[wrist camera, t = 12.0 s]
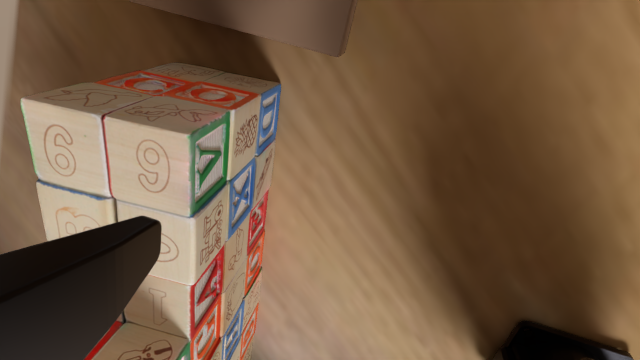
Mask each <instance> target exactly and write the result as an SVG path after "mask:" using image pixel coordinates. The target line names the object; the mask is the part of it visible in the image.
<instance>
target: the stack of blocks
mask: <svg viewBox="0 0 640 360" xmlns="http://www.w3.org/2000/svg"><path fill="white" fill-rule="evenodd" d="M280 92H281V84H280V83H277V82H272V81H267V80H262V79H257V78H252V77H247V76H242V75H237V74H233V73H226V72H224V71H220V70H215V69H211V68H206V67H201V66H195V65H190V64H183V63H169V64H165V65H161V66H157V67H154V68H151V69H147V70H144V71H141V70H139V71H134V72H130V73H127V74H123V75H119V76H115V77H110V78H107V79H104V80H101V81H98V82H95V83H90V82H88V83H80V84H76V85H72V86H68V87H64V88H59V89H55V90H51V91H46V92H42V93H38V94H34V95H30V96H26V97H23V98H21V109H22V113H23V117H24V121H25V126H26V131H27V135H28V140H29V145H30V150H31V155H32V160H33V164H34V170H35V173H36V174H37V176H38V177H39V179H38V180H37V181H36V188H37V192H38V197H39V202H40V207H41V212H42V217H43V222H44V227H45V232H46V237H47V241H51V240H55V239H58V238H62V237H65V236H69V235H73V234H76V233H80V232H84V231H87V230H91V229H94V228H98V227H102V226H105V225H109V224H112V223H116V222H120V221H123V220H127V219H130V218H134V217H138V216H147V217H150V218H153V219H156V220H159V221H160V223H161V226H162V231H161V251H160V255H159V258H158V260H157V262H156V263H155V265H154V266H153V268H152V269H151V271H150V272H149V274H148V275H147V277H146V278H145V280H144V281H143V282H142V284H141V285H140V287H139V288H138V290H137V291H136V293H135V294H134V296H133V297H132V299H131V300H130V302H129V303H128V305H127V306H126V308H125V309H124V310H123V312H122V313H121V315H120V316H119V317H118V319H117V320H116V321H115V323H114V324H113V325H112V326H111V328H110V329H109V330H108V331H107V332H106V334H105V335H104V336H103V337H102V338H101V340H100V341H99V342H98V343H97V344H96V345H95V347H94V348H93V349H92V350H91V351H90V353H89V354H88V355H87V356H86V357H85V359H84V360H251V352H252V344H253V335H254V333H255V328H256V319H257V311H258V301H259V295H260V287H261V278H262V268H261V262H262V251H263V244H264V235H265V230H264V225H265V218H266V209H267V200H268V189H269V187H270V186H271V179H272V170H273V162H274V153H275V135H276V130H277V121H278V111H279V102H280Z"/></svg>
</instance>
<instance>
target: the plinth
mask: <svg viewBox="0 0 640 360" xmlns="http://www.w3.org/2000/svg"><path fill="white" fill-rule="evenodd" d="M130 2H134V3H137V4H141V5H145V6H148V7H152V8H156V9H160V10H163V11H167V12H171V13H175V14H178V15H182V16H186V17H189V18H193V19H197V20H201V21H204V22H208V23H212V24H216V25H219V26H223V27H227V28H230V29H234V30H238V31H242V32H245V33H249V34H253V35H257V36H260V37H264V38H268V39H271V40H275V41H279V42H283V43H286V44H290V45H294V46H297V47H301V48H305V49H309V50H312V51H316V52H320V53H324V54H327V55H331V56H335V57H339V56H341V55H342V54H343V53H345V49H346V45H347V41H348V37H349V33H350V29H351V25H352V21H353V16H354V12H355V8H356V4H357V0H130Z"/></svg>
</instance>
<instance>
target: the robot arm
mask: <svg viewBox="0 0 640 360" xmlns="http://www.w3.org/2000/svg"><path fill="white" fill-rule="evenodd" d="M161 231H162V226H161V223H160V221H159V220H156V219H153V218H150V217H147V216H138V217H134V218H130V219H127V220H123V221H120V222H116V223H112V224H109V225H105V226H102V227H98V228H94V229H91V230H87V231H84V232H80V233H76V234H73V235H69V236H65V237H62V238H58V239H55V240H51V241H47V242H44V243H40V244H36V245H33V246H29V247H26V248H22V249H18V250H15V251H11V252H8V253H4V254H0V360H84V359H85V357H86V356H87V355H88V354H89V353H90V351H91V350H92V349H93V348H94V347H95V345H96V344H97V343H98V342H99V341H100V340H101V338H102V337H103V336H104V335H105V334H106V332H107V331H108V330H109V329H110V328H111V326H112V325H113V324H114V323H115V321H116V320H117V319H118V317H119V316H120V315H121V313H122V312H123V310H124V309H125V308H126V306H127V305H128V303H129V302H130V300H131V299H132V297H133V296H134V294H135V293H136V291H137V290H138V288H139V287H140V285H141V284H142V282H143V281H144V280H145V278H146V277H147V275H148V274H149V272H150V271H151V269H152V268H153V266H154V265H155V263H156V262H157V260H158V258H159V255H160V251H161ZM525 329H529V330H525ZM493 360H634V359H633V357H632V356H631V355H630V353H628V352H625V351H622V350H619V349H616V348H613V347H609V346H606V345H603V344H600V343H597V342H594V341H591V340H587V339H584V338H581V337H578V336H575V335H572V334H568V333H565V332H562V331H559V330H556V329H553V328H550V327H546V326H543V325H540V324H537V323H534V322H531V321H521V322H519V323H518V324H517V325H516V327H515V328H514V330H513V332H512V333H511V335H510V336H509V338H508V339H507V341H506V343H505V344H504V346H503V347H501V348H500V349H499V350H498V352H497V353H496V355H495V356H494V358H493Z"/></svg>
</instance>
